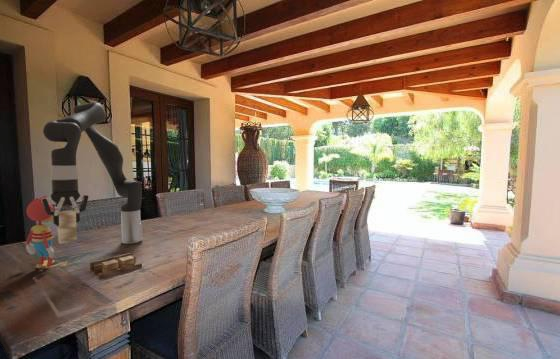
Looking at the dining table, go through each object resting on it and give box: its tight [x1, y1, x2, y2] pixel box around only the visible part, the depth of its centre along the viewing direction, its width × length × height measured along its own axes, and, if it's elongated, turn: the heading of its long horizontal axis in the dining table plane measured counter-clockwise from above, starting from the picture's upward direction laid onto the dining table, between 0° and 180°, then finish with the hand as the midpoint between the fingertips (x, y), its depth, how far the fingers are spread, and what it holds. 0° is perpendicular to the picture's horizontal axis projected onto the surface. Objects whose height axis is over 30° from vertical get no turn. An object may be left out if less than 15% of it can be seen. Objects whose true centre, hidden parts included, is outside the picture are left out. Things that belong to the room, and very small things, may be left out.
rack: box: [88, 252, 144, 280], centre depth 113 cm, size 16×13×4 cm
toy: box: [25, 195, 69, 269], centre depth 114 cm, size 15×10×30 cm
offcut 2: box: [119, 255, 135, 268], centre depth 113 cm, size 4×4×4 cm
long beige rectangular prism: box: [56, 209, 78, 244], centre depth 102 cm, size 5×3×11 cm, turn 139°
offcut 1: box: [102, 259, 119, 273], centre depth 109 cm, size 4×4×4 cm
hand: (66, 224), depth 102 cm, fingers closed on long beige rectangular prism, 5 cm apart
